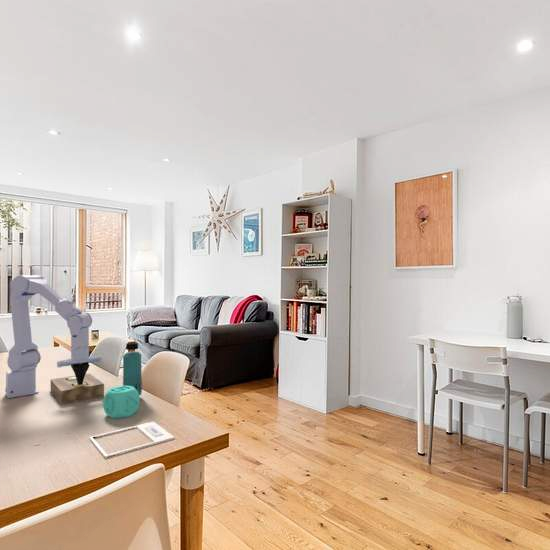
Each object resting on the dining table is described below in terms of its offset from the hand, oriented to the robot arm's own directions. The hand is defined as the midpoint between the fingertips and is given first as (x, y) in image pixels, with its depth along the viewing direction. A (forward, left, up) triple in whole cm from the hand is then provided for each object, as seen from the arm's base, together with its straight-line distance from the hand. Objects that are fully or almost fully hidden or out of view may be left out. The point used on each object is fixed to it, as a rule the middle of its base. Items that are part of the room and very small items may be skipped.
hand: (80, 384), depth 143 cm
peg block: (0, +5, -5) cm, 7 cm away
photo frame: (+2, -48, -5) cm, 48 cm away
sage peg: (0, +10, -4) cm, 11 cm away
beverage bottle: (+14, -14, -5) cm, 20 cm away
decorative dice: (+6, -27, -5) cm, 28 cm away
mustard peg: (0, 0, -4) cm, 4 cm away
